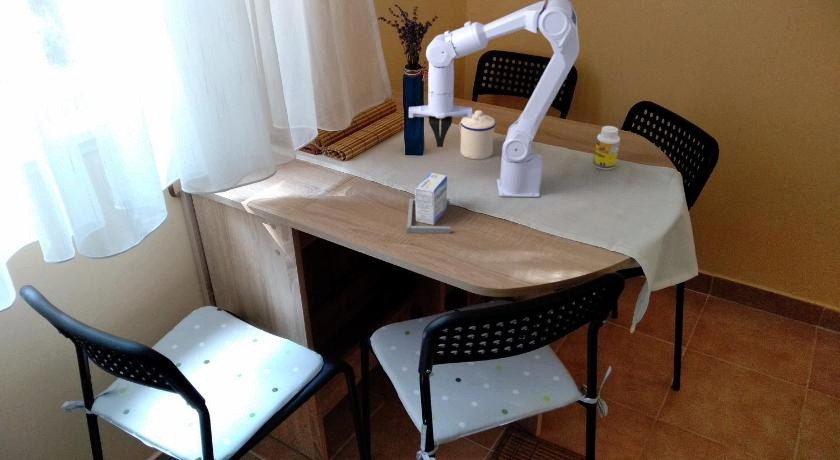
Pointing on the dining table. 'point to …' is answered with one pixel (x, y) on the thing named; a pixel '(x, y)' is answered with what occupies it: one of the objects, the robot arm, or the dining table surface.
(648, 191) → the dining table surface
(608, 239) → the dining table surface
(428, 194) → the medicine box
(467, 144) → the teacup with lid
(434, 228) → the grey bay
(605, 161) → the supplement bottle
